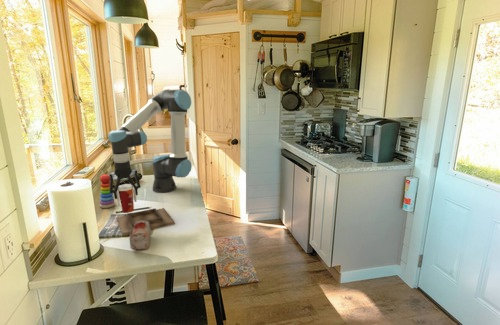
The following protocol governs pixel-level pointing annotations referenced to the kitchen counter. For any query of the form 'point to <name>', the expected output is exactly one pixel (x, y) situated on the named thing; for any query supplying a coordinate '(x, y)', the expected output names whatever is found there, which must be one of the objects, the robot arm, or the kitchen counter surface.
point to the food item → (140, 235)
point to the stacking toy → (106, 193)
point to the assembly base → (145, 219)
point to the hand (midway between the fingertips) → (127, 202)
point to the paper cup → (126, 197)
